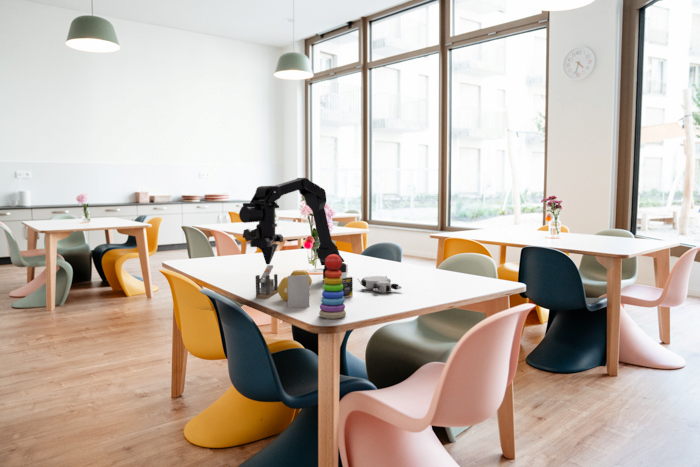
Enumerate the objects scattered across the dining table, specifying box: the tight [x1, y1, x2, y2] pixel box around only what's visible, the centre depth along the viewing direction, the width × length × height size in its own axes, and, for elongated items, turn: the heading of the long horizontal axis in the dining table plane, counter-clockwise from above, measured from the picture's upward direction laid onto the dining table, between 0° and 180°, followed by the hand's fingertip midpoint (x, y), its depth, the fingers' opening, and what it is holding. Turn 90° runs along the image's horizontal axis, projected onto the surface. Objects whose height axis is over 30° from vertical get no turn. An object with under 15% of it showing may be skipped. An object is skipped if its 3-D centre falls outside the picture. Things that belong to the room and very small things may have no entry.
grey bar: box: [259, 264, 274, 284], centre depth 185 cm, size 10×2×1 cm, turn 170°
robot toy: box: [357, 275, 402, 294], centre depth 193 cm, size 12×4×15 cm
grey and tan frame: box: [255, 273, 279, 299], centre depth 185 cm, size 11×5×8 cm, turn 170°
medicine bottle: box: [339, 261, 354, 298], centre depth 184 cm, size 7×7×12 cm
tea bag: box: [287, 274, 311, 309], centre depth 168 cm, size 4×7×10 cm, turn 100°
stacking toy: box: [318, 254, 347, 320], centre depth 154 cm, size 8×8×19 cm
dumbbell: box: [277, 269, 313, 302], centre depth 184 cm, size 19×9×8 cm, turn 172°
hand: (267, 264), depth 186 cm, fingers closed
